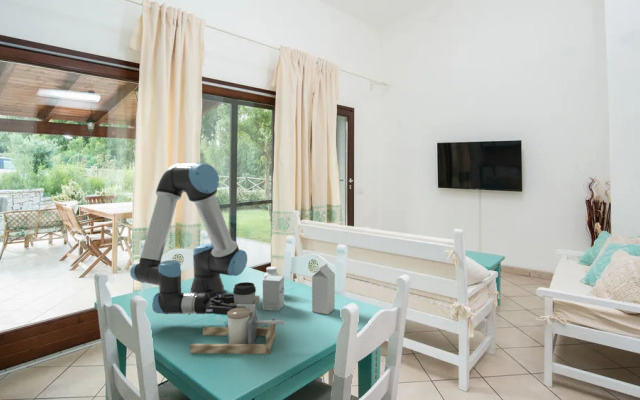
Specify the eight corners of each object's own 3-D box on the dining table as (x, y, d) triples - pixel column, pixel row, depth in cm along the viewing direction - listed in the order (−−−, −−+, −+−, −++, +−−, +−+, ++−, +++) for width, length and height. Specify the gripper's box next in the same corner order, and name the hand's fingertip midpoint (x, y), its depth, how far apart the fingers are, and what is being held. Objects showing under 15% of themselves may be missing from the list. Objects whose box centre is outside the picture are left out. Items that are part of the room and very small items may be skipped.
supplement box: (279, 311, 144) (279, 281, 143) (262, 309, 145) (262, 280, 144) (284, 304, 151) (284, 275, 150) (268, 303, 153) (268, 274, 152)
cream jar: (223, 346, 115) (222, 314, 114) (236, 336, 121) (235, 306, 121) (242, 350, 112) (242, 317, 111) (254, 340, 119) (254, 309, 118)
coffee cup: (235, 320, 135) (234, 282, 134) (257, 319, 136) (256, 281, 135) (231, 329, 127) (231, 289, 126) (255, 328, 127) (254, 288, 126)
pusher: (247, 350, 111) (247, 322, 111) (254, 335, 122) (253, 310, 121) (282, 350, 111) (282, 323, 111) (285, 335, 122) (285, 310, 121)
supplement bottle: (267, 298, 159) (266, 270, 158) (262, 293, 165) (262, 267, 164) (280, 295, 162) (280, 268, 161) (275, 291, 168) (275, 265, 167)
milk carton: (334, 308, 146) (334, 264, 145) (327, 315, 140) (328, 268, 139) (319, 306, 149) (319, 262, 148) (312, 312, 143) (312, 266, 142)
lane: (189, 353, 110) (189, 336, 110) (204, 333, 124) (203, 318, 123) (269, 353, 110) (269, 336, 110) (275, 334, 123) (275, 318, 123)
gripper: (206, 302, 142) (262, 303, 141) (186, 325, 120) (251, 325, 120) (205, 284, 141) (262, 284, 141) (185, 304, 120) (251, 304, 120)
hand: (257, 303), depth 131 cm, fingers open, 8 cm apart
